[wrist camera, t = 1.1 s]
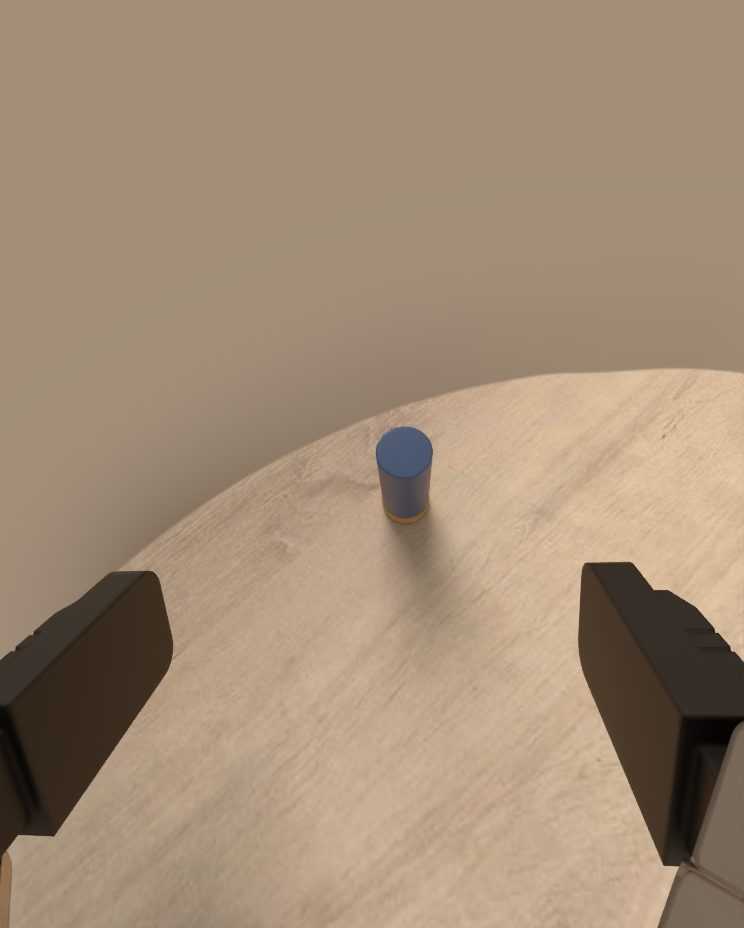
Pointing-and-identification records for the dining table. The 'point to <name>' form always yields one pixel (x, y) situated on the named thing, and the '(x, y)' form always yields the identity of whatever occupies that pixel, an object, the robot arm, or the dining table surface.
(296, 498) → the dining table surface
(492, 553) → the dining table surface
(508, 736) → the dining table surface
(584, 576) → the robot arm
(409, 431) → the handle
